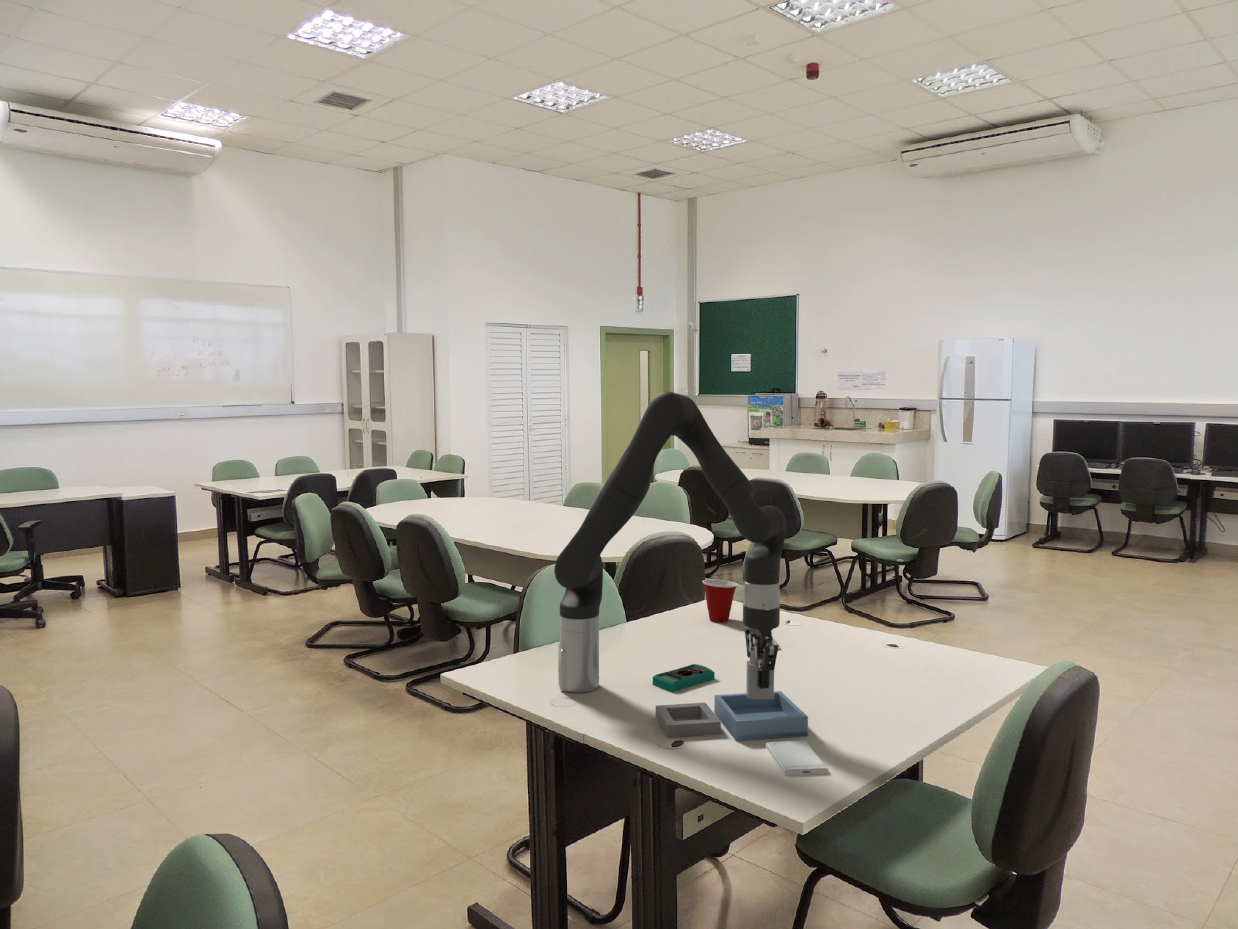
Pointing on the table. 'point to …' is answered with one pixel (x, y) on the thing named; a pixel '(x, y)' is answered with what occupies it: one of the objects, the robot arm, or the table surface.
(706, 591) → the plastic cup
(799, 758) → the hard drive
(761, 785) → the table surface
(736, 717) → the parts tray
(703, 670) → the digital multimeter
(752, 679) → the power adapter
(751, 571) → the robot arm
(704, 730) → the adapter holder
